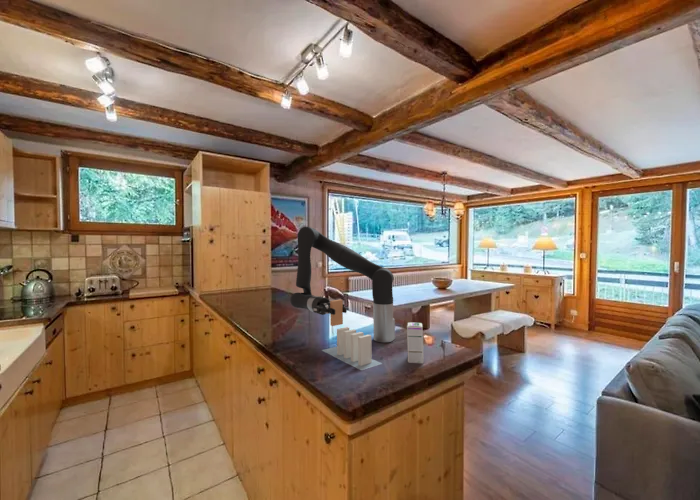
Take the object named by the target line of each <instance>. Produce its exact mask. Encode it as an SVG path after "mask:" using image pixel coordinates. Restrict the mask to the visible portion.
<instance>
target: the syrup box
mask: <svg viewBox="0 0 700 500" xmlns="http://www.w3.org/2000/svg"><path fill="white" fill-rule="evenodd" d="M423 327H424V326H423V323H422V322H413V321H412V322H411V321H410V322H407V324H406V333H407V334H406V335H407V336H406V337H407V338H406V343H407V345H406V347H407V363H410V364H424V331H423Z"/></svg>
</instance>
